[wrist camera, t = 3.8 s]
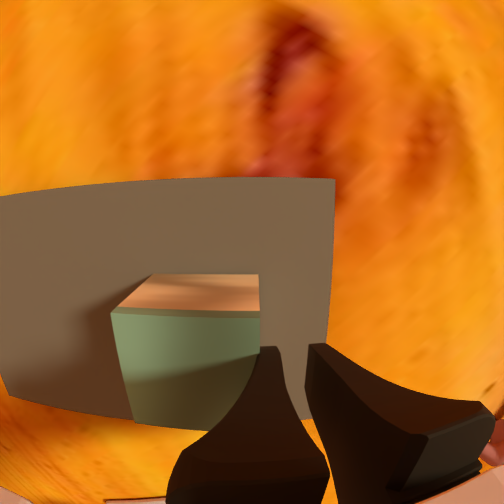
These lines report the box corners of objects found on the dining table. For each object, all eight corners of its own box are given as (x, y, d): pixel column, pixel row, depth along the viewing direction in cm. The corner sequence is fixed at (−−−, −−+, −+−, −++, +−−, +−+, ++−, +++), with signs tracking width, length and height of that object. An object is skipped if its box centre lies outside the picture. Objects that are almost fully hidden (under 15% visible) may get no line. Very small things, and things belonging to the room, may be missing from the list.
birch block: (164, 362, 15) (134, 422, 11) (153, 273, 14) (110, 312, 10) (257, 366, 15) (258, 432, 10) (258, 274, 14) (260, 317, 10)
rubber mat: (12, 391, 16) (9, 395, 16) (-30, 202, 13) (-36, 203, 13) (313, 412, 18) (315, 418, 17) (331, 179, 15) (335, 179, 14)
